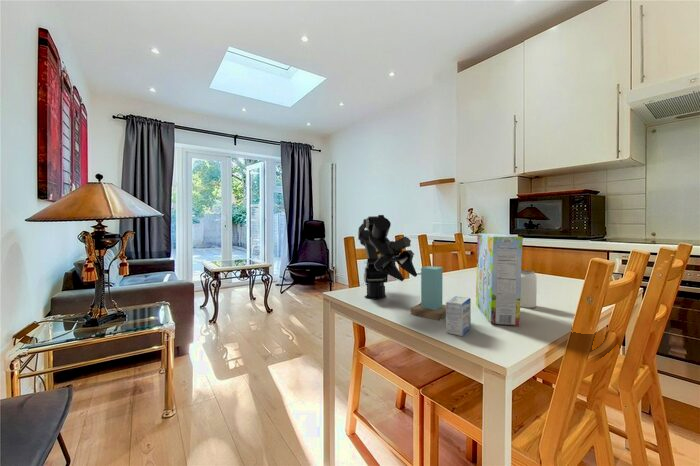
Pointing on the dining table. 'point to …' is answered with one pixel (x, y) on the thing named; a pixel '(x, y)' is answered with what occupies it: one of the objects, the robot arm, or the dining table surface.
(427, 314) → the podium
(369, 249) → the robot arm
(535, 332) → the dining table surface
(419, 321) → the dining table surface
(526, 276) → the can
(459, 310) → the medicine box
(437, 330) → the dining table surface
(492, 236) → the snack box
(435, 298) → the carton
